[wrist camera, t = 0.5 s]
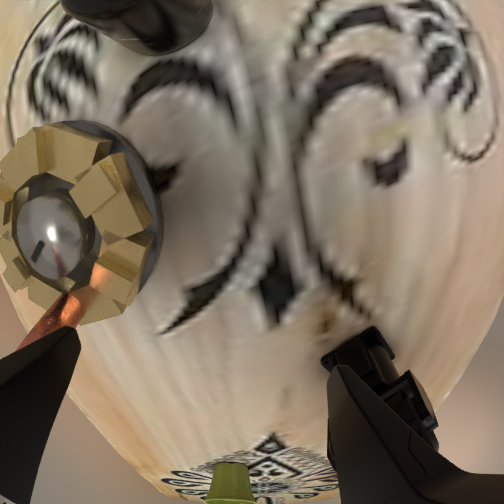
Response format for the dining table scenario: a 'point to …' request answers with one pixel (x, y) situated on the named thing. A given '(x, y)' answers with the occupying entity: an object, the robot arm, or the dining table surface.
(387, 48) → the dining table surface
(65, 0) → the supplement bottle
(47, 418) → the robot arm
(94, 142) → the handwheel
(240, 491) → the plant pot
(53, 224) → the flange
